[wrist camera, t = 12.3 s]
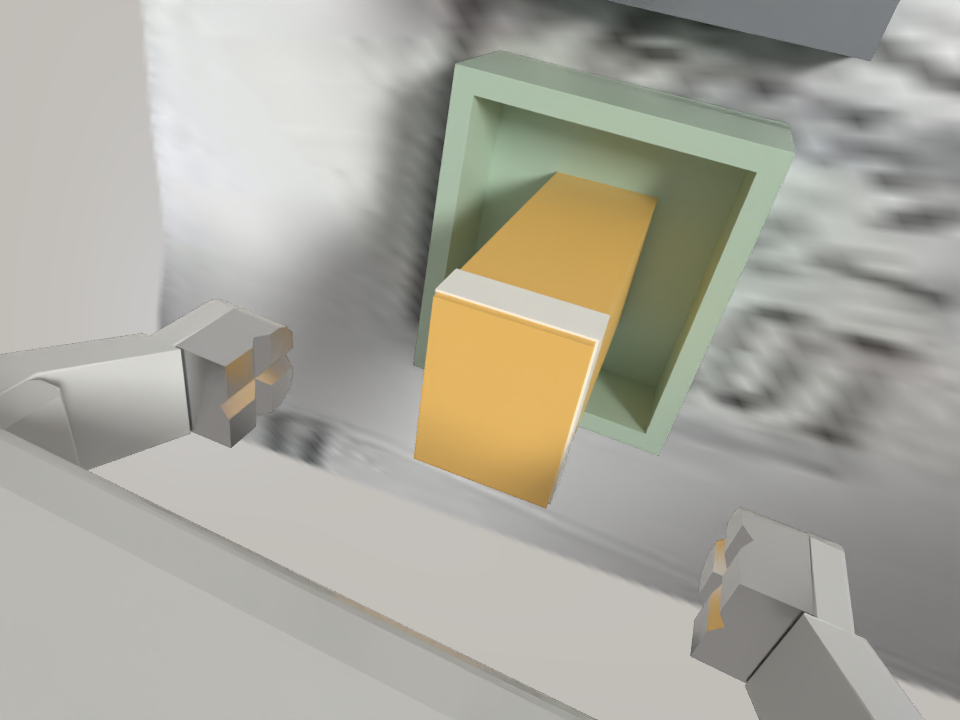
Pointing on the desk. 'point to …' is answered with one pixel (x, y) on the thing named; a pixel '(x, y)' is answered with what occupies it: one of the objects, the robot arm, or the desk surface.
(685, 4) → the fuse block
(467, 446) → the block
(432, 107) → the desk surface
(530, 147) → the tray
